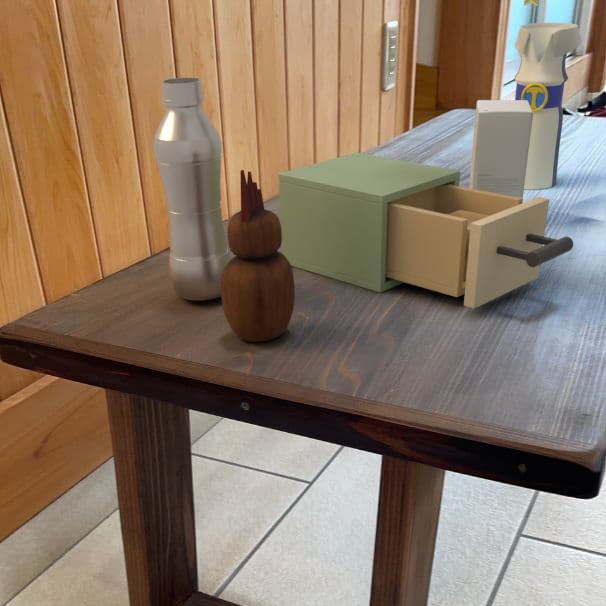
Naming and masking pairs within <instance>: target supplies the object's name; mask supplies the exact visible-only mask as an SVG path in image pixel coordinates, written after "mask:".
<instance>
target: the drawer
mask: <svg viewBox="0 0 606 606" xmlns="http://www.w3.org/2000/svg"><path fill="white" fill-rule="evenodd" d="M549 204H550V198H547V197H540V196H538V197H536V198H532V199H530V200H528V201H524V197H523V198H519V197H513V196H508V195H503V194H498V193H493V192H488V191H482V190H477V189H472V188H469V187H467V186H462V185H459V186H456V185H451V184H443V185H439V186H436V187H433V188H430V189H427V190H424V191H421V192H418V193H415V194H412V195H409V196H406V197H403V198H400V199H397V200H394V201H391V202H388V203H387V239H386V273H385V277H388V278H391V279H395V280H398V281H402V282H404V283H406V284H409V285H412V286H416V287H420V288H423V289H427V290H430V291H433V292H438V293H441V294H444V295H448V296H451V297H454V298H459V297H461V296H463V295H464V299H463V306H464V307H467V308H471V309H476V308H478V307H481V306H482V305H484V304H487V303H488V302H490V301H493V300H495V299H498V297H501V296H503V295H505V294H507V293H509V292H511V291H514V290H515V289H518V288H520V287H522V286H524V285H526V284H529V283H530V282H532V281H535V280H537V279H539V278H540V270H541V265H542V264H544V263H545V264H546V262H549V261H552V260H554V259H555V258H557V257H560V256H561V255H564V254H566V253H568V252H570V251H572V250H573V247H574V240H573V239H572V238H571V237H570V236H563V237H561V238H559V239H556V238H552V237H549V236H545V234H546V227H547V219H548V214H549V213H548V212H549V206H550V205H549ZM458 210H464V211H469V212H473V213H478V214H483V215H488V217H486V218H483V219H480V220H478V221H475V222H473V223H471V228H470V239H469V251H468V263H467V274H466V280H463V274H464V262H465V250H466V238H467V226H468V219H465V218H460V217H456V216H451V215H447V214H450V213H453V212H455V211H458Z"/></svg>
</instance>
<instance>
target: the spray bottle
mask: <svg viewBox="0 0 606 606" xmlns="http://www.w3.org/2000/svg"><path fill="white" fill-rule="evenodd" d="M531 3H532V4H533V5H535V7H539V0H524V2H523V7H524V6H526V5H527V6H528V5H529V4H531ZM582 42H583V39H582V36H581V33H580V30H579V26H578V24H576V23H568V22H535V23H534V22H533V23H526V24H523V25H521V26H519V29H518V34H517V36H516V39H515V42H514V47H515V49H516V50H517V53H518V55H519V58H520V59H521V60H520V65H519V69H518V71H517V73H516V74H515V76H514V80H515V82H516V87H515V95H514V100H528V102H529V104H530V106H531V109H532V111H533V118H532V125H531V133H530V141H529V150H528V158H527V166H526V174H525V182H524V190H544V189H550V188H553V187H555V186H556V185H557V178H558V166H559V156H560V155H559V154H560V147H561V138H562V131H563V122H564V111H563V106H562V104H563V98H564V97H563V96H564V90H565V83H566V82H567V81H568V80H569V76H568V73H567V70H566V69H567V68H566V60H567V57H568V54H569V53H571V52H573V51H574V50H577V48H578V47H579V46H580V45H581V44H582Z"/></svg>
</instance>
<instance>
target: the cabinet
mask: <svg viewBox="0 0 606 606" xmlns="http://www.w3.org/2000/svg"><path fill="white" fill-rule="evenodd" d="M460 179H461V171H460V170H457V169H456V170H455V169H452V168H451V169H450V168H445V167H439V166H434V165H428V164H422V163H417V162H412V161H407V160H401V159H394V158H391V157H384V156H379V155H372V154H369V153H361V152H353V153H349V154H347V155H343V156H339V157H335V158H332V159H327V160H323V161H320V162H315V163H312V164H309V165H305V166H301V167H298V168H294V169H291V170H287V171H283V172H279V173H278V195H279V215H280V216H279V217H280V219H279V221H280V224H281V231H282V243H281V253H282V254H283V255H285V257H286V258H287V259H288V261H289V262H290V265H291V267H294V268H298V269H301V270H303V271H308V272H311V273H313V274H317V275H320V276H324V277H327V278H330V279H334V280H337V281H341V282H343V283H347V284H350V285H354V286H358V287H360V288H364V289H367V290H370V291H373V292H377V293H383V292H385V291H388V290H390V289H393V288H395V287H397V286H400V285H402V284H404V283H405V282H402V281H398V280H395V279H391V278H388V277H385V273H386V239H387V203H388V202H391V201H394V200H397V199H400V198H403V197H406V196H409V195H412V194H415V193H418V192H421V191H424V190H427V189H430V188H433V187H436V186H439V185H443V184H451V185H456V186H460V182H461V181H460Z"/></svg>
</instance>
